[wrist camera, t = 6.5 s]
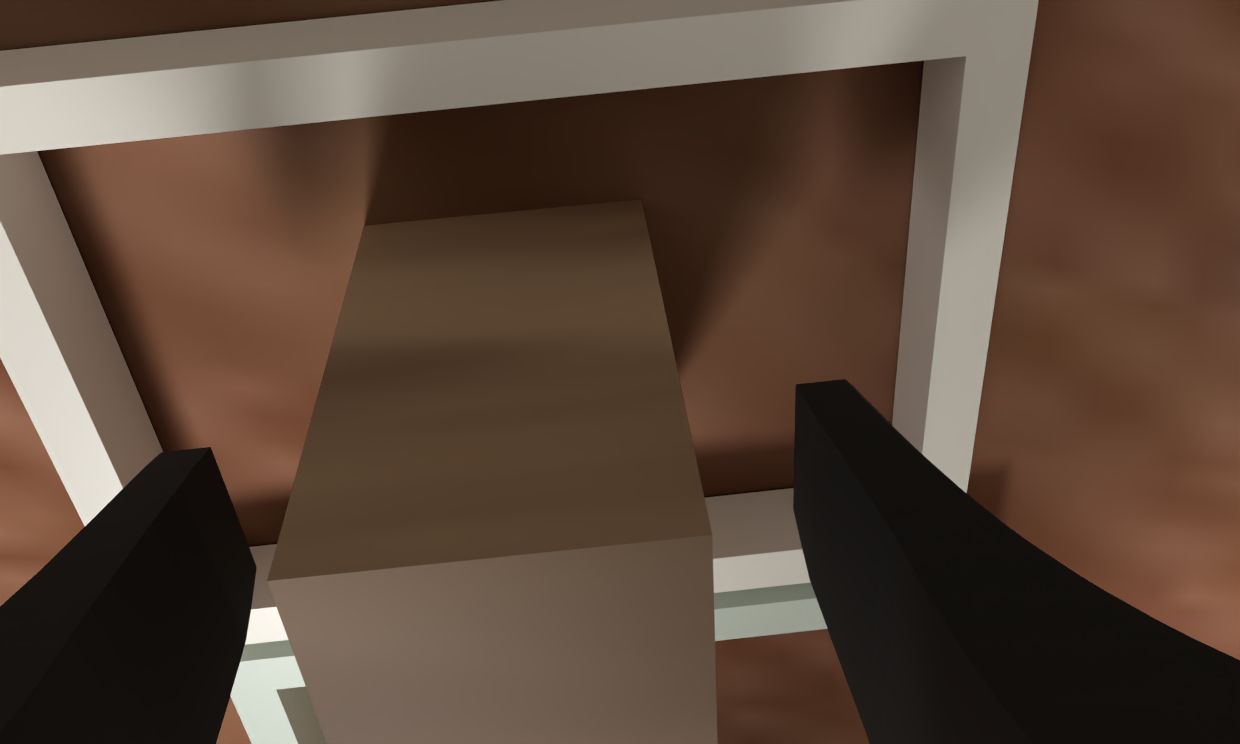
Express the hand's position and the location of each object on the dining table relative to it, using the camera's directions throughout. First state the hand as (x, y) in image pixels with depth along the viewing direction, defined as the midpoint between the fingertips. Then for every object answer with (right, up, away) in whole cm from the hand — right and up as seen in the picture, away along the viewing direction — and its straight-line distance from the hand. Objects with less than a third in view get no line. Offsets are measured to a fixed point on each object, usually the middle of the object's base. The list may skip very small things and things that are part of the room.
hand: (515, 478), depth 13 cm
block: (0, +2, +3) cm, 4 cm away
